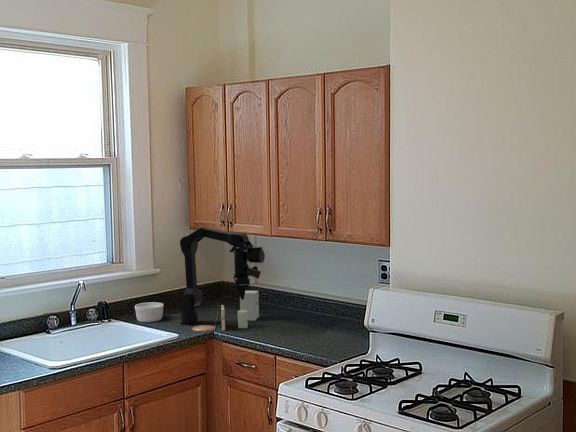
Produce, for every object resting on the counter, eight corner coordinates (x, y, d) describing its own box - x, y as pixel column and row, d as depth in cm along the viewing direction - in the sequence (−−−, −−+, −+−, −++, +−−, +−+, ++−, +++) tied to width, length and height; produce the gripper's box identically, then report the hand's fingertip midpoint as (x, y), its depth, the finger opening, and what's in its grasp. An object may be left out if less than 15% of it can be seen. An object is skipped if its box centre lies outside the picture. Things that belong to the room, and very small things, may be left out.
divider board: (225, 330, 323) (224, 309, 323) (222, 330, 323) (221, 309, 323) (224, 325, 333) (223, 305, 333) (221, 325, 333) (221, 305, 332)
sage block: (247, 327, 327) (247, 312, 327) (238, 328, 327) (238, 312, 326) (247, 325, 331) (246, 310, 331) (238, 326, 331) (237, 310, 330)
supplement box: (255, 320, 341) (255, 293, 340) (239, 320, 343) (239, 293, 341) (259, 317, 348) (258, 290, 347) (244, 316, 350) (243, 290, 349)
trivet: (187, 330, 325) (187, 329, 325) (199, 325, 334) (199, 324, 334) (208, 332, 321) (208, 331, 321) (219, 327, 330) (219, 326, 330)
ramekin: (170, 318, 349) (169, 304, 349) (147, 324, 339) (147, 309, 338) (151, 315, 358) (151, 301, 357) (129, 320, 348) (128, 305, 347)
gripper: (260, 264, 319) (262, 300, 320) (257, 258, 337) (258, 292, 338) (234, 265, 317) (235, 301, 319) (233, 259, 336) (234, 294, 337)
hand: (242, 297), depth 328 cm, fingers open, 9 cm apart
